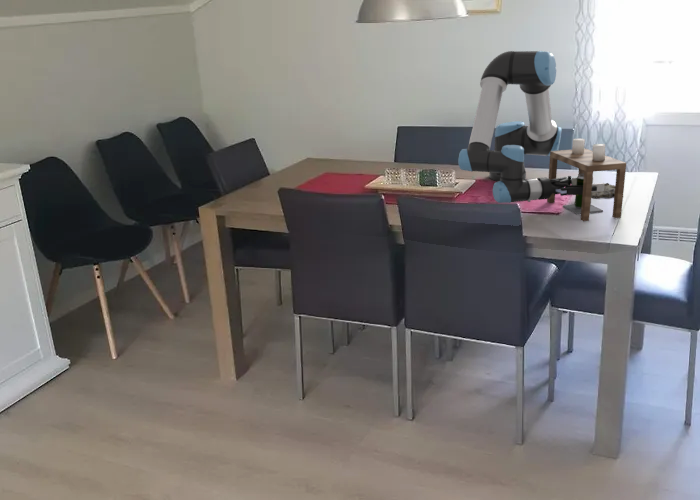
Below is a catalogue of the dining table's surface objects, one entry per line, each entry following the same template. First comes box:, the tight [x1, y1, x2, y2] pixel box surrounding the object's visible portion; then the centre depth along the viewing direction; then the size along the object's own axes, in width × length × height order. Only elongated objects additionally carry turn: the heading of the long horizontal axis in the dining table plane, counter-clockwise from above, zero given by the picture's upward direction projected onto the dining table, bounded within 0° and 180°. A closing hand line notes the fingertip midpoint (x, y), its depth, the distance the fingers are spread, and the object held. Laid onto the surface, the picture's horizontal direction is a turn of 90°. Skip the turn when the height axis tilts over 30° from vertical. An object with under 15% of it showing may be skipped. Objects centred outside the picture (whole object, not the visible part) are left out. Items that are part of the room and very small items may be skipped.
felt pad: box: [562, 203, 604, 215], centre depth 255 cm, size 10×10×1 cm
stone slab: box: [591, 182, 615, 199], centre depth 275 cm, size 12×17×3 cm
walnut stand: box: [546, 147, 627, 222], centre depth 252 cm, size 26×14×19 cm, turn 13°
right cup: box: [592, 143, 606, 161], centre depth 242 cm, size 4×4×5 cm
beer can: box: [574, 173, 594, 209], centre depth 253 cm, size 5×5×12 cm
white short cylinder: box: [571, 137, 586, 155], centre depth 253 cm, size 4×4×5 cm
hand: (596, 183), depth 253 cm, fingers open, 9 cm apart
